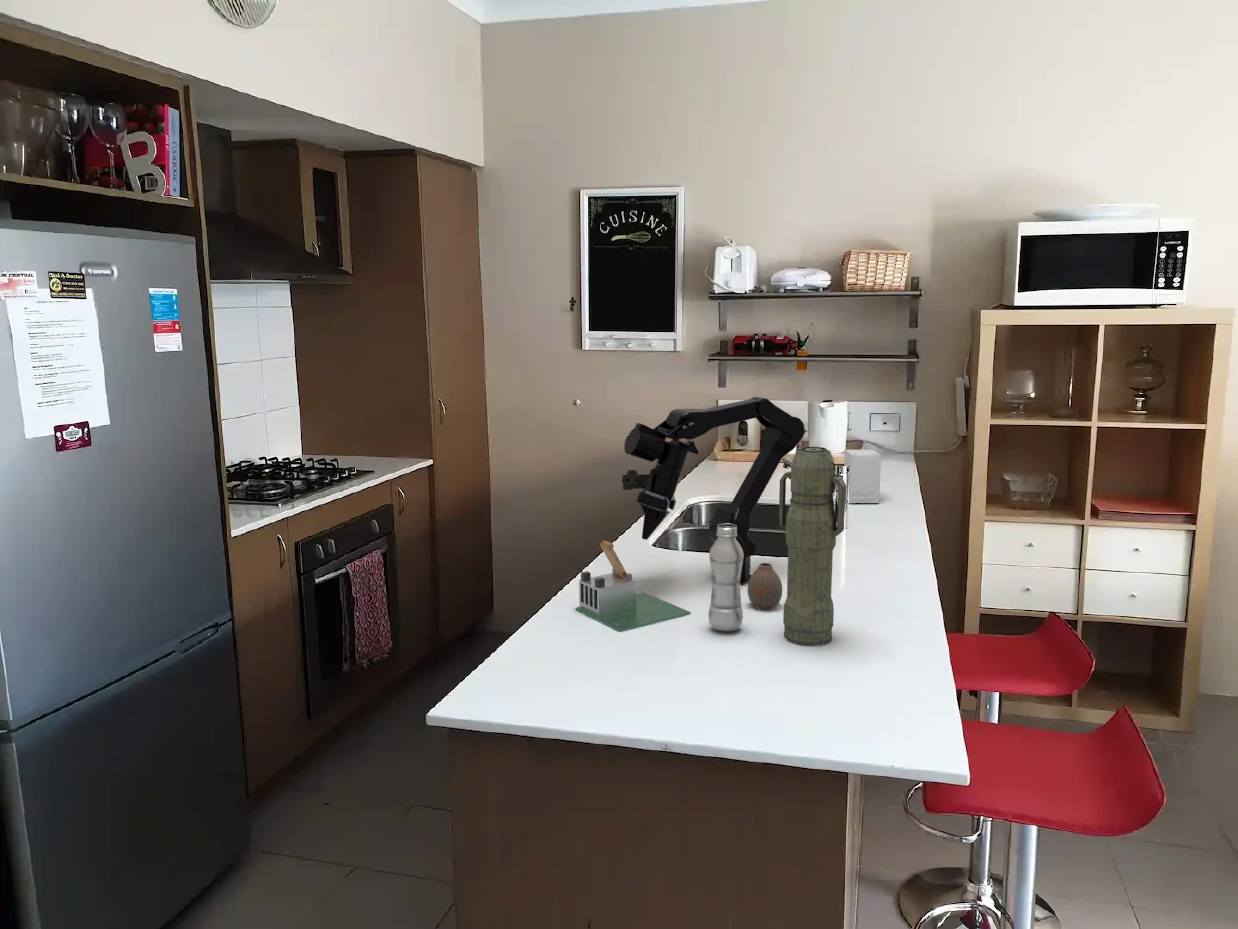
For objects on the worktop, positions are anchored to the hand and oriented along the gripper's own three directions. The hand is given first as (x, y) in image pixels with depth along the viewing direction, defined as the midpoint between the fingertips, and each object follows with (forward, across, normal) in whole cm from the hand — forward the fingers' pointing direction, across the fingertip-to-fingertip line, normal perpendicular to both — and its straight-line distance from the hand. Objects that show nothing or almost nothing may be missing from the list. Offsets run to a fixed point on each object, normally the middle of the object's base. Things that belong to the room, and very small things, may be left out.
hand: (644, 539), depth 201 cm
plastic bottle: (+10, +17, +22) cm, 29 cm away
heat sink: (+13, +10, +3) cm, 17 cm away
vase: (+4, +3, +28) cm, 28 cm away
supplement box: (-24, -95, +48) cm, 109 cm away
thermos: (+5, +19, +36) cm, 41 cm away
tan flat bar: (+5, +10, -4) cm, 12 cm away
